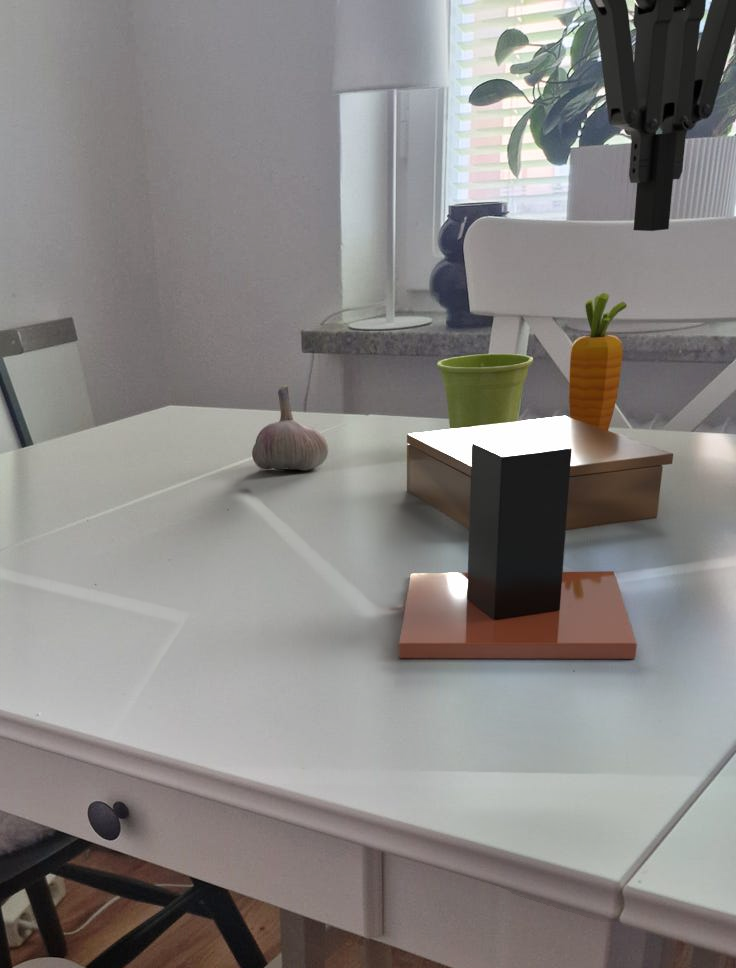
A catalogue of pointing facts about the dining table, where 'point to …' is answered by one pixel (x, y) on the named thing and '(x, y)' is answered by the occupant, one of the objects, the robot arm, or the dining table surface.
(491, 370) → the plant pot
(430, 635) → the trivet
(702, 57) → the robot arm
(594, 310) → the carrot
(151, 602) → the dining table surface
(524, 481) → the black block
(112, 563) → the dining table surface
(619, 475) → the wooden box
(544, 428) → the lid
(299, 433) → the garlic bulb
